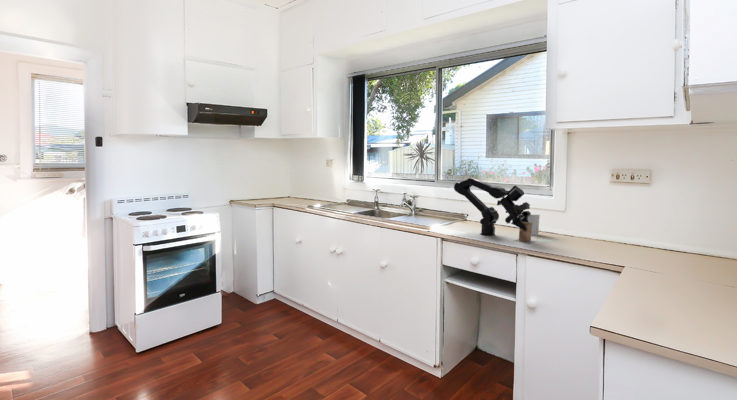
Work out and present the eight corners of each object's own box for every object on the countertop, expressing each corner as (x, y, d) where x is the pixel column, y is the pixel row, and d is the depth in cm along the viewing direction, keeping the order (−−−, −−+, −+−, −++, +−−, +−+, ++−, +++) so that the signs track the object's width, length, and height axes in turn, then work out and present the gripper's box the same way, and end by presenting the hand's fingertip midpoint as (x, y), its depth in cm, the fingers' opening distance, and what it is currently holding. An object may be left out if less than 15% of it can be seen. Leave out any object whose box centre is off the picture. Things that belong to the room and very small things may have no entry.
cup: (535, 233, 241) (537, 213, 240) (540, 235, 233) (541, 215, 232) (521, 232, 242) (522, 212, 240) (525, 235, 234) (526, 214, 232)
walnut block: (518, 241, 217) (519, 222, 216) (522, 239, 220) (523, 221, 219) (526, 242, 214) (528, 223, 213) (530, 241, 217) (532, 222, 216)
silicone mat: (512, 240, 217) (512, 240, 217) (520, 238, 223) (520, 238, 223) (529, 243, 211) (529, 243, 211) (536, 241, 217) (536, 241, 217)
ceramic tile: (536, 241, 217) (536, 241, 217) (538, 238, 224) (538, 238, 224) (552, 243, 214) (552, 243, 214) (553, 240, 221) (553, 240, 221)
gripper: (512, 198, 211) (531, 222, 204) (528, 196, 224) (547, 218, 217) (497, 211, 217) (515, 235, 211) (514, 208, 230) (531, 230, 223)
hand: (528, 229), depth 215 cm, fingers closed on walnut block, 4 cm apart
